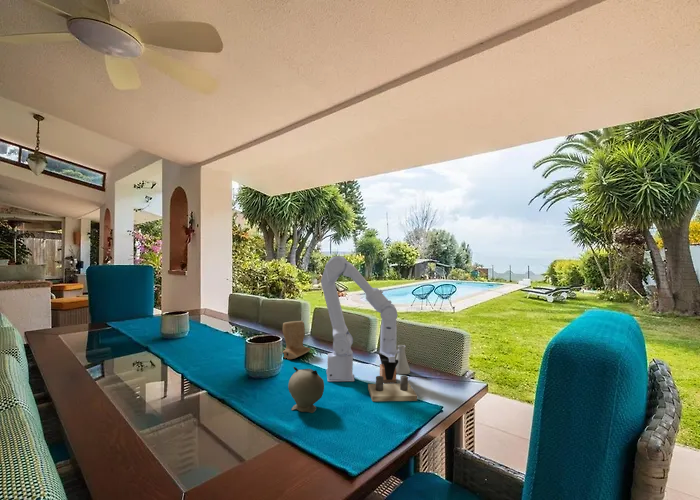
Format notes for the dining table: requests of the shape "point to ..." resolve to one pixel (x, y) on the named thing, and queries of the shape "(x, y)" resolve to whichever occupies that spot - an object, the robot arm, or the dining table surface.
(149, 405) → the dining table surface
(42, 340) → the dining table surface
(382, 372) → the sleeve
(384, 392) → the pin board
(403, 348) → the flask
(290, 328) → the tan wooden stand
